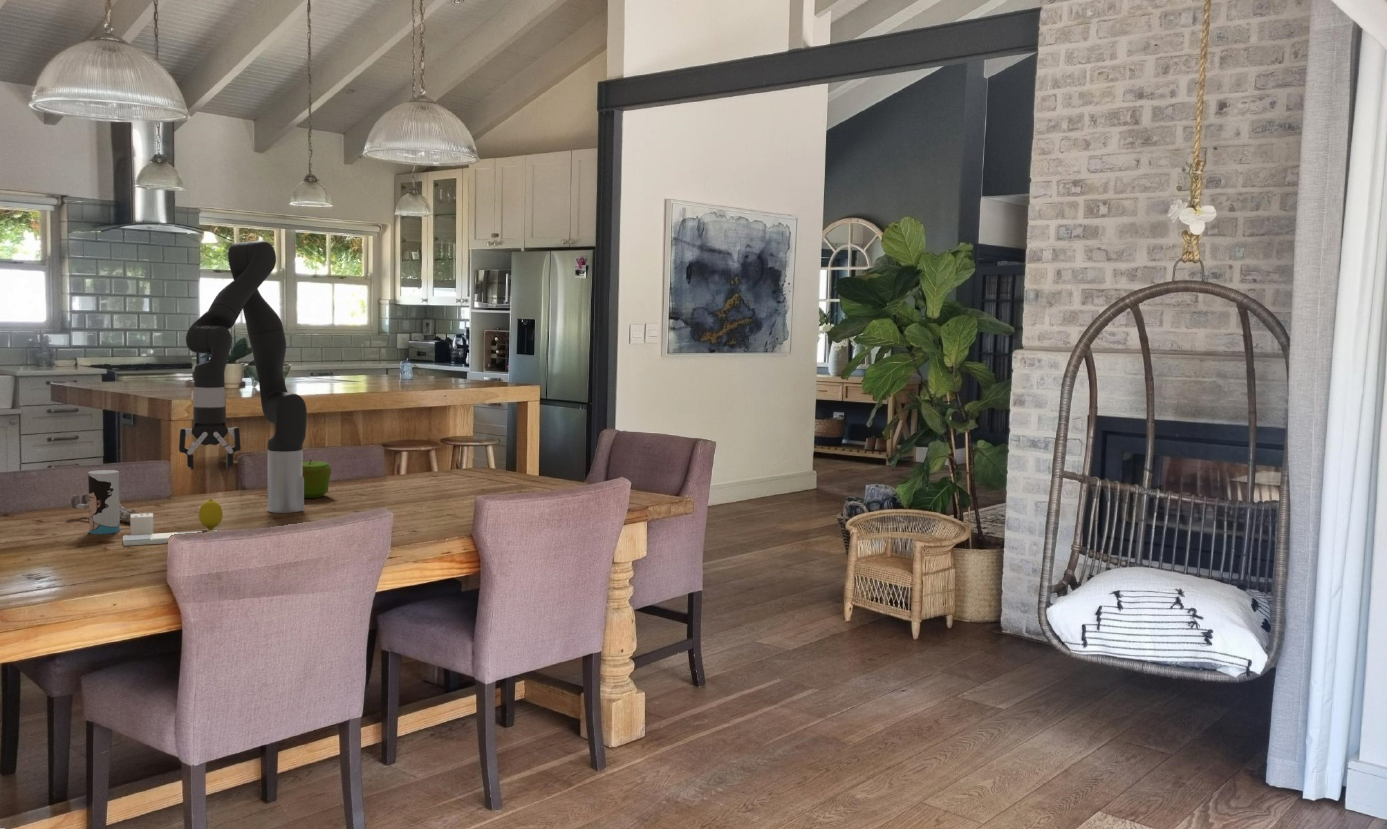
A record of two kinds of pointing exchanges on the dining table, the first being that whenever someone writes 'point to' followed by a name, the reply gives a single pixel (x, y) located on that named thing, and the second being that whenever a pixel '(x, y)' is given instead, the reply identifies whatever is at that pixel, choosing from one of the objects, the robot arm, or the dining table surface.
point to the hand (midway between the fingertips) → (210, 468)
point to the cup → (104, 502)
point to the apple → (316, 478)
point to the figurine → (84, 504)
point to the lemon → (210, 514)
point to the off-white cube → (141, 523)
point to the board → (150, 538)
